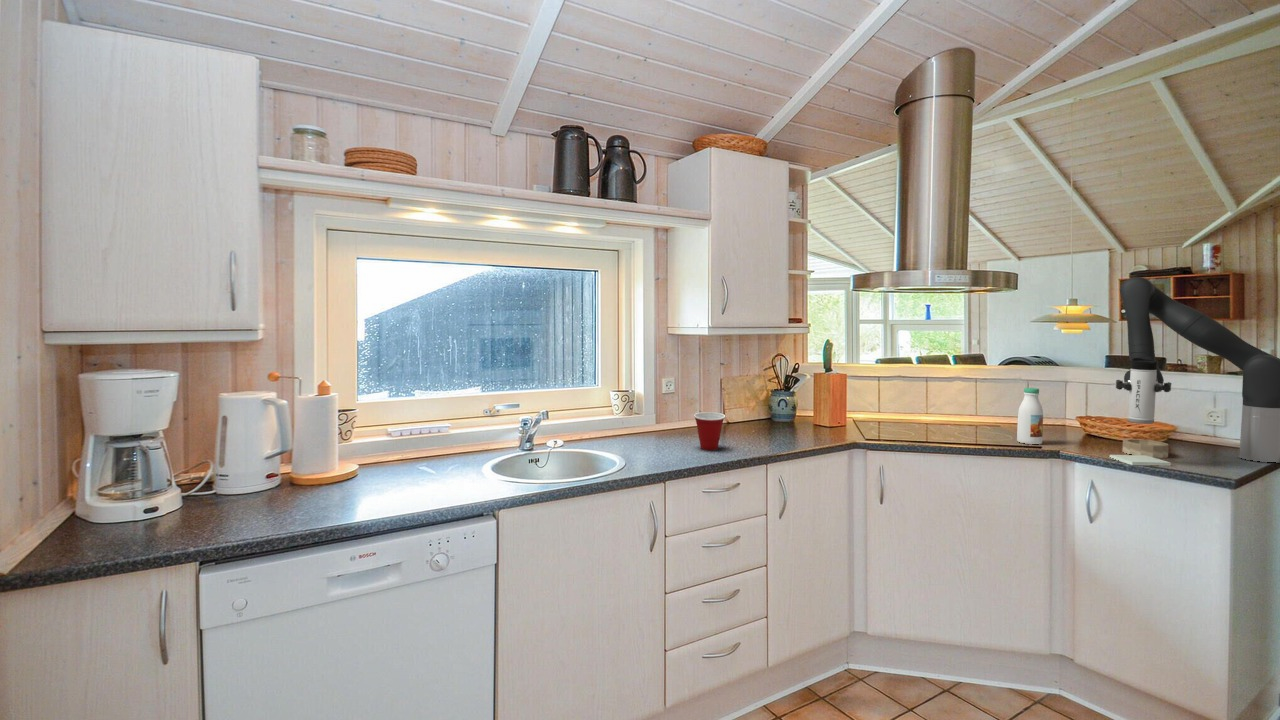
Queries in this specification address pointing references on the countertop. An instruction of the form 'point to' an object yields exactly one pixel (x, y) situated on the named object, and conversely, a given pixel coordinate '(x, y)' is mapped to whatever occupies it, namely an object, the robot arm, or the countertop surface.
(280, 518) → the countertop surface
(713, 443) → the plastic cup
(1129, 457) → the sage pad
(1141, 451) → the collar ring
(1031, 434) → the milk bottle
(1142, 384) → the travel mug
